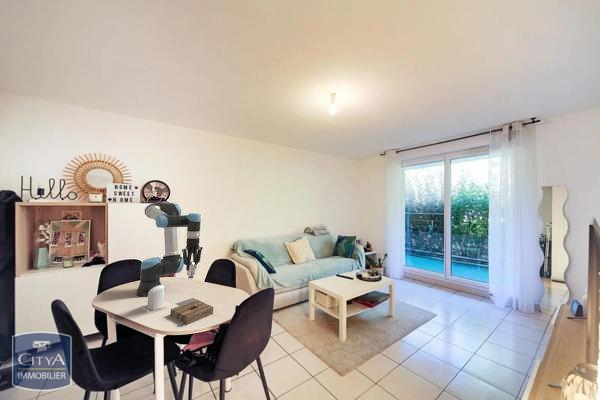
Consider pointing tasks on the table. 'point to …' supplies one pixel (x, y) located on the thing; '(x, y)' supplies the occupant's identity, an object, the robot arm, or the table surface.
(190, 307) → the socket block
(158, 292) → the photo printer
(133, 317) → the table surface
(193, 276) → the pin
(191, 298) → the mat
